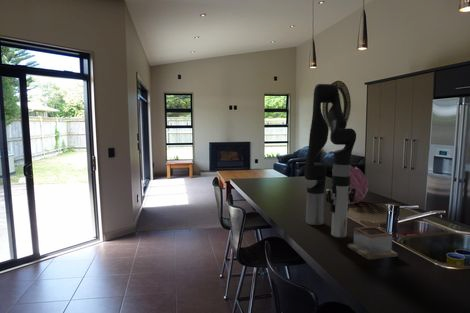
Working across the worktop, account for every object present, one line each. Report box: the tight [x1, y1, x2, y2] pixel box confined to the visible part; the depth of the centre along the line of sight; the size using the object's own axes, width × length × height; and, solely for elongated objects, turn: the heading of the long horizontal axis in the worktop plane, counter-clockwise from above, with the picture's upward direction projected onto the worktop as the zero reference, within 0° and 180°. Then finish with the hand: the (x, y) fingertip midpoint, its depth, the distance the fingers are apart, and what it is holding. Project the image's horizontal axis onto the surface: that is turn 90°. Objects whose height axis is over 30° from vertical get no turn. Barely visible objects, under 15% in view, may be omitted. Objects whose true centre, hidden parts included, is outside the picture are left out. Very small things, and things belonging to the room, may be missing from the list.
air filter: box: [330, 185, 350, 238], centre depth 137 cm, size 6×6×25 cm
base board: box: [347, 242, 399, 261], centre depth 134 cm, size 14×14×1 cm
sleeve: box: [353, 225, 393, 255], centre depth 133 cm, size 11×11×8 cm
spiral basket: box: [331, 164, 369, 205], centre depth 216 cm, size 28×28×27 cm
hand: (339, 211), depth 138 cm, fingers closed on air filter, 5 cm apart
